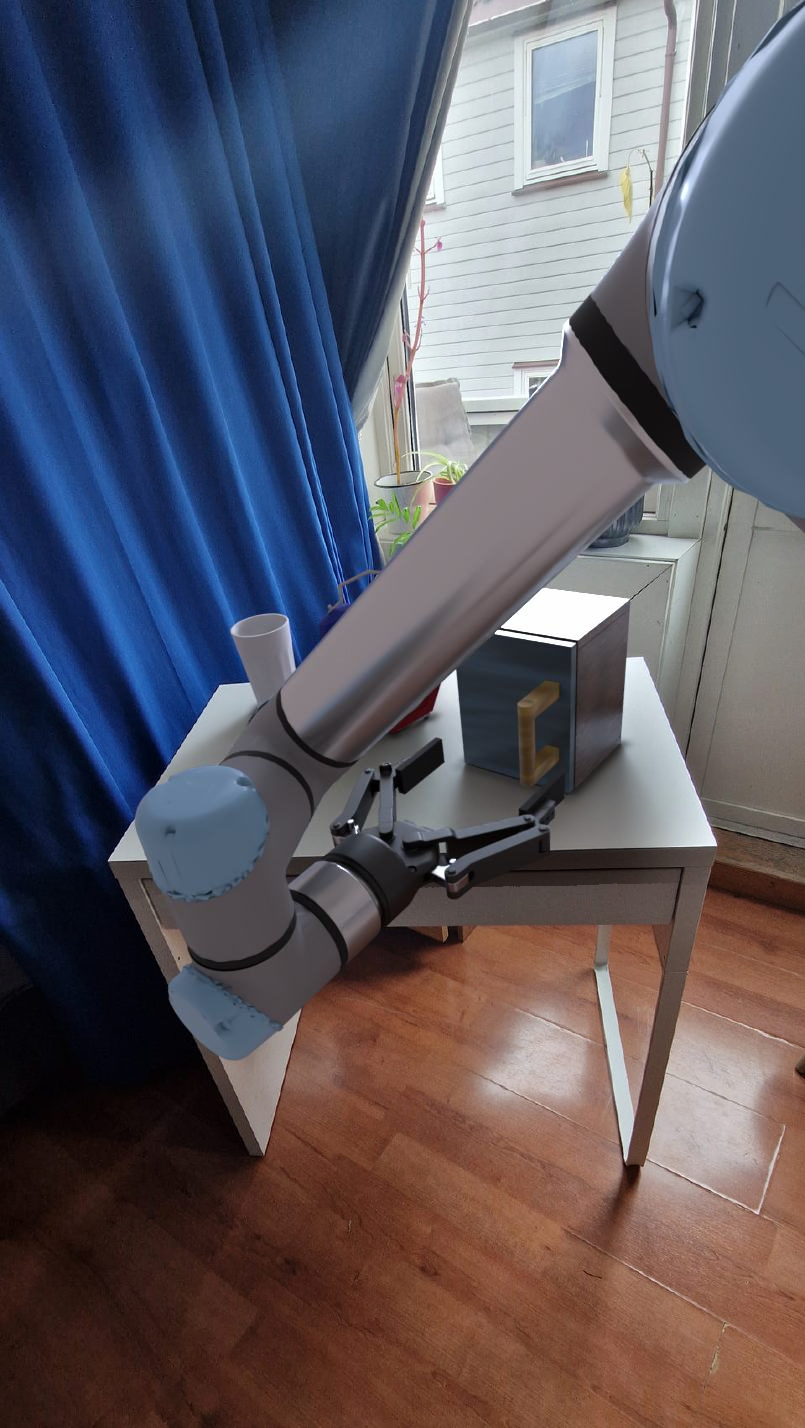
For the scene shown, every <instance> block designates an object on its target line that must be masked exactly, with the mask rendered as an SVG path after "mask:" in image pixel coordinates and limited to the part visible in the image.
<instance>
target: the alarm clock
mask: <svg viewBox="0 0 805 1428" xmlns="http://www.w3.org/2000/svg"><path fill="white" fill-rule="evenodd" d="M380 571H381V570H376V569H375V570H374V569H367V570H365V571H363V572H361V573H359V574H357V575H354V576H353V577H351V578H349V579H347V580H345V581H343V582H341V583H339V584H337V592H338V601H337V602H336V603H335V604H334V605H333V606H332V605H331V604H328V605H327V608H328V611H327V613H326V614H324V615H323V616H322V618H321V620H320V622H319V624H318V626H319V628H318V630H319V639H320V640H322V639H323V637H324V636H325V635H326V634H327V633H328V632H329V630H330V629H331V628H332V627H333V626H334V625H335V623H336V622H337V621H338V620H339V619H340V618H341V616H342V615H343V614H344V613H345V612H346V611H347V610H348V608H349V607H350V606H351V605H352V603H348V602H344V598H343V597H344V596H343V589H342V588H343V587H345V586H347V585H349V584H351V583H353V582H355V581H357V580H359V579H360V578H361V579H362V578H363V577H365V576H366V575H370V574H371V575H376V576H377V575H378V574H379V572H380ZM441 686H442V683H441V684H440V685H438V686H437V687H436V688H435V689H434V690H433V691H432V692H431V693H430V694H429V695H428V696H427V697H426V698H424V699H423V700H422V701H421V702H420V703H419V704H418V705H417V706H416V707H415V708H414V709H413V710H412V711H410V712H409V713H408V714H407V715H406V716H405V717H404V718H403V719H402V720H401V721H400V722H399V723H398V724H396V725H395V726H394V727H393V728H392V729H391V730H390V731H389V732H388V733H392V734H396V733H398V732H400V731H402V730H403V729H405V728H406V727H408V726H410V725H411V724H413V723H416V722H417V721H418V720H421V718H423V717H427V718H429V717H430V716H431V712H433V711H434V709H435V708H434V707H435V705H436V702H437V698H438V695H439V692H440V688H441Z"/></svg>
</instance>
